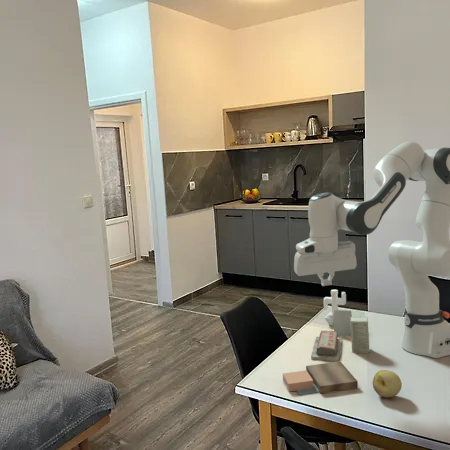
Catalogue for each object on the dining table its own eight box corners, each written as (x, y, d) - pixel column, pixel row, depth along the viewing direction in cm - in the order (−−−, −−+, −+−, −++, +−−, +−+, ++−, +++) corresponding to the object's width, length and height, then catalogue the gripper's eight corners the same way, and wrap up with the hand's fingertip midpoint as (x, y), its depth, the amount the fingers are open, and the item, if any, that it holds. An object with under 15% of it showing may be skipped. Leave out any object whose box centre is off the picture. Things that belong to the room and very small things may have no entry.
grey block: (351, 336, 179) (350, 312, 178) (334, 335, 181) (333, 311, 180) (352, 332, 183) (351, 309, 181) (335, 331, 185) (334, 308, 183)
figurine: (327, 319, 198) (325, 286, 196) (348, 322, 194) (347, 288, 191) (322, 325, 192) (320, 291, 190) (344, 328, 188) (343, 293, 185)
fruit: (368, 392, 138) (367, 368, 136) (392, 387, 139) (392, 363, 138) (382, 405, 130) (381, 379, 129) (407, 400, 132) (407, 374, 131)
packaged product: (315, 328, 178) (341, 329, 175) (316, 340, 179) (342, 341, 176) (310, 347, 162) (338, 349, 159) (310, 360, 162) (339, 362, 159)
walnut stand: (340, 368, 154) (340, 361, 154) (357, 388, 140) (357, 381, 140) (306, 372, 153) (306, 365, 152) (320, 393, 139) (320, 386, 139)
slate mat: (310, 373, 152) (310, 373, 152) (322, 391, 140) (322, 390, 140) (288, 376, 151) (288, 376, 151) (299, 395, 139) (298, 394, 139)
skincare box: (369, 348, 168) (368, 316, 166) (369, 353, 163) (368, 321, 161) (351, 347, 169) (350, 316, 167) (351, 352, 165) (350, 320, 163)
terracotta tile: (306, 377, 149) (306, 370, 149) (313, 387, 142) (313, 380, 142) (283, 380, 148) (282, 373, 148) (288, 391, 141) (288, 383, 141)
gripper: (350, 238, 150) (352, 278, 152) (291, 245, 147) (293, 286, 150) (359, 241, 144) (360, 283, 146) (296, 249, 141) (299, 292, 144)
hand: (326, 285), depth 148 cm, fingers closed
